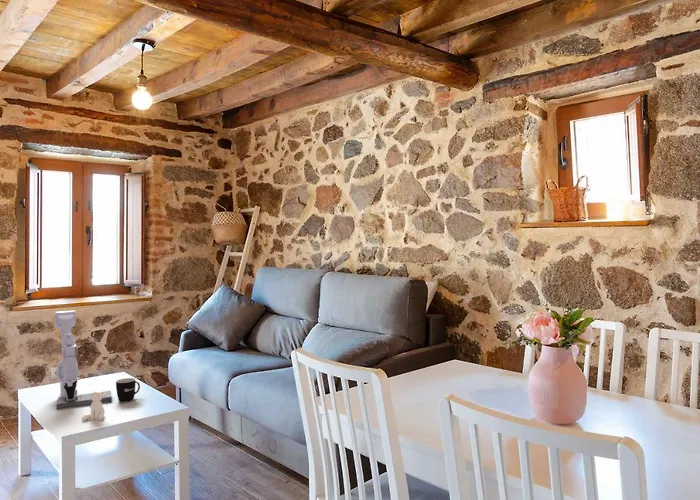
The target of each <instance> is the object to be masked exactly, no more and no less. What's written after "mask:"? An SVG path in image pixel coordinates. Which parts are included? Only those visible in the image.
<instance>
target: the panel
mask: <svg viewBox="0 0 700 500" xmlns="http://www.w3.org/2000/svg"><path fill="white" fill-rule="evenodd" d="M100 392H101V393H102V394H104V393H105V395H104V397H102V400H100V401H101V403H102V404H104V403H105V404H106V403H111V402H113V401H112V398H113V397H112V390H106V391H105V390H104V391H100ZM93 393H94V392H92V393H83V394H77V395H76V400H71V401H66V397H60V396H59V397H60V398H59V397H58V398H57V401H56V410H62V409H69V408H76V407H81V406H91V403H92V402H93V401H92V398H91V397H92V394H93Z"/></svg>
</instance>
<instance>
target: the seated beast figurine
mask: <svg viewBox="0 0 700 500" xmlns="http://www.w3.org/2000/svg"><path fill="white" fill-rule="evenodd" d="M101 392H102V391H99V390H98V391H97V390H96V391H94V392H92V393H93V394H92V397H91V398H92V401H93V402H92V403H91V405H89V408H90V411H89V413H86V414H84V415H83V416H82V417H81V421H82V422H86V421H87V422H88V421H99V422H102V421H103V420H104V419H105V408H104V407H103V403H101V401H100V400H102V397H104V395H105V393H104V394H102V393H101Z"/></svg>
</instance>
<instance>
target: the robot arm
mask: <svg viewBox="0 0 700 500" xmlns="http://www.w3.org/2000/svg"><path fill="white" fill-rule="evenodd" d="M76 323H77V312H76V310H74V309H73V310H63V311H55V312H54V326H55V328H56V329H59V330H60V336H61V338H60V339H61V357H62V359H61V360H60V361H58V363H57V364H56V378H57V379H58V380H59V386H60V392H59V397H58V398H60V397H66V392H67V396H68V399H73V398H74V392H75V388H76V389H77V385H78V380H80V377H78V376H79V373H80V372H79V364H78V361H77V356H78V347H77V343H76V338H75V335H74V334H73V333H72V329H73V327H75V326H76Z"/></svg>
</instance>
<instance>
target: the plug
mask: <svg viewBox="0 0 700 500" xmlns="http://www.w3.org/2000/svg"><path fill="white" fill-rule="evenodd" d="M76 395H78V389H77V387H76V388H75V392H74V398H73V399H68V396H67V392H66V401H71V400H76Z"/></svg>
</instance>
